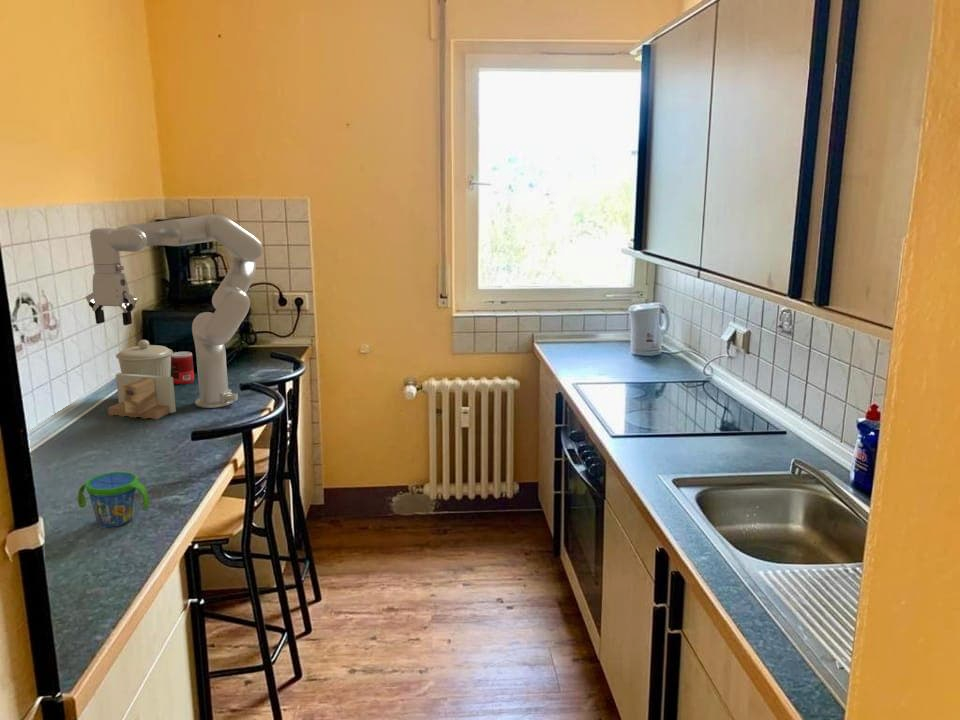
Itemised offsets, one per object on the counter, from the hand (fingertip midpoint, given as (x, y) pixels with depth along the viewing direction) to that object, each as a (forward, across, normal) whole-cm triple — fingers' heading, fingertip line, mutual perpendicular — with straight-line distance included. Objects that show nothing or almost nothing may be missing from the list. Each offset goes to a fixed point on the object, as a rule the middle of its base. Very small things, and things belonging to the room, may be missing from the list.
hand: (114, 323), depth 238 cm
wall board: (+31, -1, -6) cm, 32 cm away
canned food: (+32, +7, -44) cm, 54 cm away
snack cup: (+31, -46, +65) cm, 85 cm away
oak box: (+29, -4, -4) cm, 29 cm away
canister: (+32, +7, -22) cm, 39 cm away
